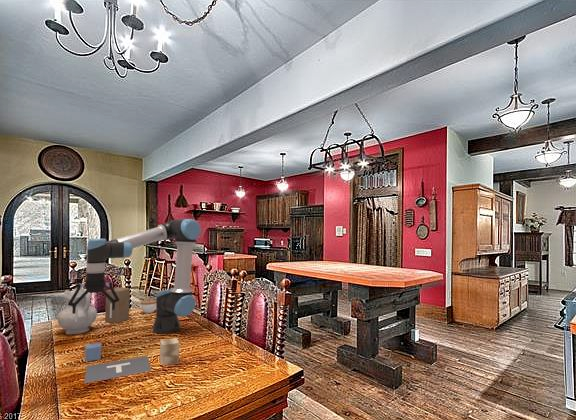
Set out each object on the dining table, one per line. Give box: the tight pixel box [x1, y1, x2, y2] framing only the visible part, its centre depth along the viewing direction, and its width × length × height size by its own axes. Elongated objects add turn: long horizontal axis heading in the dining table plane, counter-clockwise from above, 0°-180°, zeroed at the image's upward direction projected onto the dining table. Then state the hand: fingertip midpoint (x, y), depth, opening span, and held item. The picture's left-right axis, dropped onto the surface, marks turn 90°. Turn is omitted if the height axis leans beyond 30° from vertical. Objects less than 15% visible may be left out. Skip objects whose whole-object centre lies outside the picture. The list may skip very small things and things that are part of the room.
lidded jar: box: [140, 298, 156, 314], centre depth 234 cm, size 11×11×9 cm
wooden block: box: [104, 287, 131, 324], centre depth 214 cm, size 10×10×20 cm
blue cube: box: [84, 342, 102, 362], centre depth 151 cm, size 6×6×6 cm
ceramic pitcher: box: [56, 287, 98, 335], centre depth 191 cm, size 22×20×25 cm
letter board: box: [83, 355, 153, 384], centre depth 140 cm, size 24×18×1 cm
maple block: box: [159, 337, 180, 366], centre depth 148 cm, size 7×7×9 cm
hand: (93, 319), depth 152 cm, fingers open, 13 cm apart
